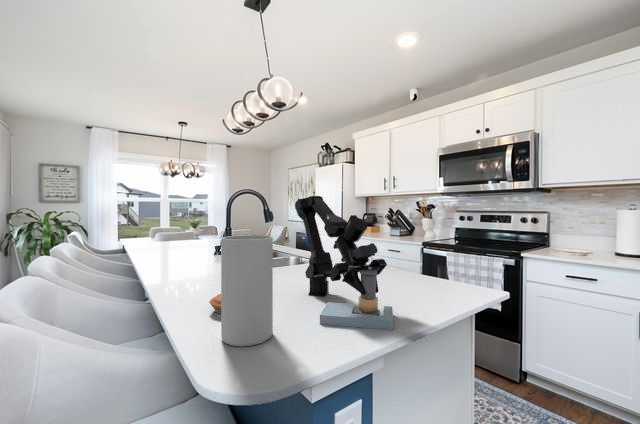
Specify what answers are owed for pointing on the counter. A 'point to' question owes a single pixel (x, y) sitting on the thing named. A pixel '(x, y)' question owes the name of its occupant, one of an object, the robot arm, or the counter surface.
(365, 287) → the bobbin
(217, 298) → the pie
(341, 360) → the counter surface
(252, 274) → the cylinder vase
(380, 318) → the notched board
